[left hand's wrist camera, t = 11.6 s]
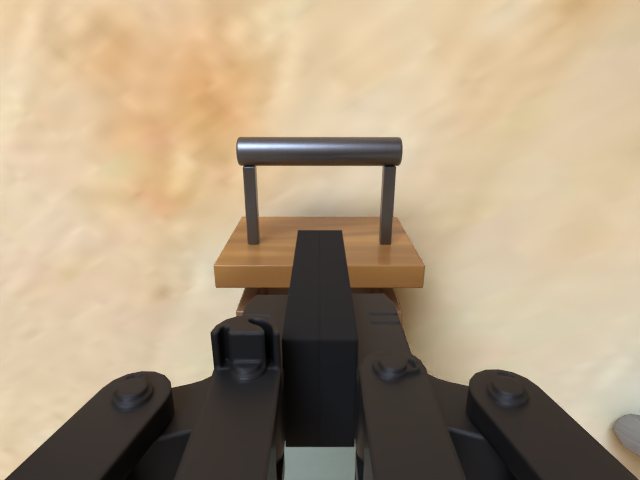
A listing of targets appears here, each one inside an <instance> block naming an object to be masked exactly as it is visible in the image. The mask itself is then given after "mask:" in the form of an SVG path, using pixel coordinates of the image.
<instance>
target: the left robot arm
mask: <svg viewBox="0 0 640 480" xmlns="http://www.w3.org/2000/svg"><path fill="white" fill-rule="evenodd" d="M211 342H212V351H213V361H214V371H213V374H212V376H211V377H209V378H206V379H204V380H202V381H199V382H195V383H192V384H188V385H183V386H179V387H174V388H171V382H170V381H169V380H168V378H167V377H166V376H165V375H163V374H160V373H157V372H147V371H141V372H136V373H131V374H127V375H125V376H122V377H120V378H118V379H115V380H113V381H112V382H110V383H109V384H108V385H106V386H105V387H103V388H102V389H101V390H100V391H99V392H98V393H97V394H96V395H95V396H94V397H92V398H91V399H90V400H89V401H88V402H87V403H86V404H85V405H84V406H83V407H82V408H81V409H80V410H79V411H78V412H76V413H75V414H74V415H73V416H72V417H71V418H70V419H69V420H68V421H67V422H66V423H65V424H64V425H63V426H62V427H60V428H59V429H58V430H57V431H56V432H55V433H54V434H53V435H52V436H51V437H50V438H49V439H48V440H47V441H45V442H44V443H43V444H42V445H41V446H40V447H39V448H38V449H37V450H36V451H35V452H34V453H33V454H32V455H31V456H29V457H28V458H27V459H26V460H25V461H24V462H23V463H22V464H21V465H20V466H19V467H18V468H17V469H16V470H14V471H13V472H12V473H11V474H10V475H9V476H8V477H7V478H6V479H5V480H284V474H285V456H284V448H285V445H286V447H354V445H355V446H356V456H355V480H638V479H637V478H636V477H635V476H634V475H633V474H632V473H631V472H630V471H629V470H628V469H627V468H625V467H624V466H623V465H622V464H621V463H620V462H619V461H618V460H617V459H616V458H615V457H614V456H613V455H611V454H610V453H609V452H608V451H607V450H606V449H605V448H604V447H603V446H602V445H601V444H600V443H599V442H597V441H596V440H595V439H594V438H593V437H592V436H591V435H590V434H589V433H588V432H587V431H586V430H585V429H583V428H582V427H581V426H580V425H579V424H578V423H577V422H576V421H575V420H574V419H573V418H572V417H571V416H569V415H568V414H567V413H566V412H565V411H564V410H563V409H562V408H561V407H560V406H559V405H558V404H557V403H555V402H554V401H553V400H552V399H551V398H550V397H549V396H548V395H547V394H546V393H545V392H544V391H543V390H541V389H540V388H539V387H538V386H537V385H535V384H534V383H533V382H531V381H530V380H528V379H527V378H525V377H522V376H520V375H518V374H515V373H513V372H508V371H503V370H484V371H481V372H478V373H475V375H474V376H473V377H472V378H471V379H470V382H469V386H465V385H461V384H456V383H451V382H447V381H444V380H440V379H437V378H435V377H433V376H431V375H429V374H428V373H427V370H426V368H425V366H424V365H423V363H422V362H421V361H420V360H419V359H418V358H416V357H415V356H413V355H412V354H411V352H410V349H409V346H408V343H407V340H406V337H405V334H404V331H403V328H402V325H401V322H400V319H399V316H398V313H397V310H396V307H395V304H394V302H393V301H392V300H390V299H389V298H388V297H387V296H386V295H385V294H351V287H350V280H349V274H348V267H347V260H346V253H345V247H344V240H343V233H342V230H298V233H297V240H296V247H295V253H294V260H293V267H292V274H291V280H290V287H289V294H288V295H256V296H255V297H254V298H252V299H251V300H250V301H249V302H248V303H247V304H246V306H245V309H244V312H243V316H237V317H233V318H230V319H227V320H225V321H223V322H221V323H220V324H218V325H216V326H215V328H214V329H213V330H212V332H211Z"/></svg>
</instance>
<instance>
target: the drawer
mask: <svg viewBox="0 0 640 480" xmlns="http://www.w3.org/2000/svg"><path fill="white" fill-rule="evenodd" d="M236 152H237V160H238V163H239V165H241V166H243V177H244V193H245V209H246V217H242V218H241V220H240V221H239V223H238V225H237V227H236V228H235V230H234V232H233V234H232V235H231V237H230V239H229V240H228V242H227V244H226V246H225V247H224V249H223V251H222V252H221V254H220V256H219V258H218V259H217V261H216V263H215V264H214V274H215V284H216V288H245V289H244V292H243V295H242V297H241V300H240V303H239V305H238V308H237V311H236V317H237V316H243V312H244V309H245V306H246V304H247V303H248V302H249V301H250V300H251V299H252V298H254V297H255V296H256V295H288V294H289V287H290V280H291V274H292V267H293V260H294V253H295V247H296V240H297V233H298V230H342V233H343V240H344V247H345V253H346V260H347V267H348V274H349V280H350V287H351V294H385V295H386V296H387V297H388V298H389V299H390V300H392V301H393V302H394V304H395V307H396V310H397V313H398V316H399V319H400V322H401V324H402V310H401V307H400V304H399V301H398V298H397V296H396V293H395V290H394V288H423V280H424V270H425V265H424V264H423V262H422V260H421V258H420V257H419V255H418V253H417V251H416V250H415V248H414V246H413V244H412V243H411V241H410V239H409V237H408V236H407V234H406V232H405V230H404V229H403V227H402V225H401V223H400V222H399V220H398V218H397V217H393V207H394V191H395V175H396V167H395V166H399V165H400V163H401V160H402V140H401V138H399V137H239V138H238V140H237V146H236ZM256 166H383V170H382V190H381V209H380V217H259V213H258V193H257V174H256Z"/></svg>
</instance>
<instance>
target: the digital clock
mask: <svg viewBox="0 0 640 480" xmlns="http://www.w3.org/2000/svg"><path fill="white" fill-rule="evenodd" d="M613 427H614V428H613V430H614V432H615V434H616V436H617V437H618V439H619V441H620V442H621V444H622V445H623V446H624V447H626V448H627V449H629V450H630V451H632V452H634V453H635V454H637V455H638V456H640V416H639V415H634V414H628V415H625V416H623V417H621V418H620V419H618V420H617V421H616V422H615V424H614V426H613Z"/></svg>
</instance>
